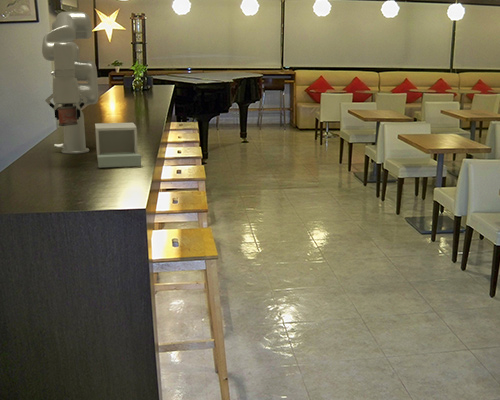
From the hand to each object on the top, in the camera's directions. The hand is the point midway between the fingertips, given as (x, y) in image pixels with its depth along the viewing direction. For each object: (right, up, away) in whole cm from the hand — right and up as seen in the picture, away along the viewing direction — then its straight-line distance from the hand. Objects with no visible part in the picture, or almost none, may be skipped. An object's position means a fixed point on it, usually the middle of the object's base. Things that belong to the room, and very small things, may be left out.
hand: (68, 119), depth 241 cm
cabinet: (+14, -14, +25) cm, 32 cm away
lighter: (0, -3, +1) cm, 3 cm away
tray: (+18, -17, +11) cm, 27 cm away
